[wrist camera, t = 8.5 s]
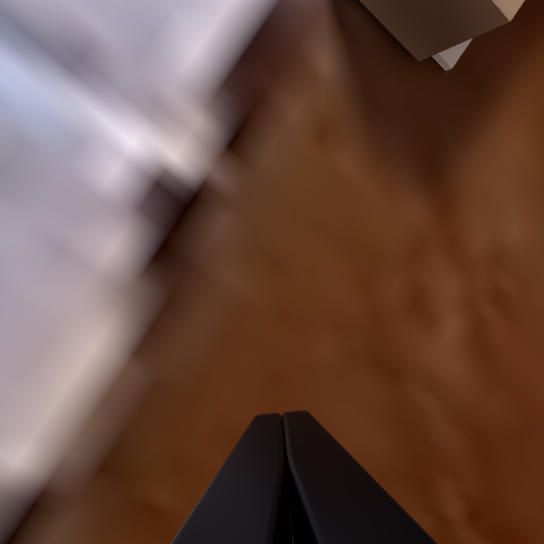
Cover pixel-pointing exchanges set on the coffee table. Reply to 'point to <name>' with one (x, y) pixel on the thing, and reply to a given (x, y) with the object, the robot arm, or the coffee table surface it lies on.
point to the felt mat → (451, 55)
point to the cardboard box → (440, 21)
